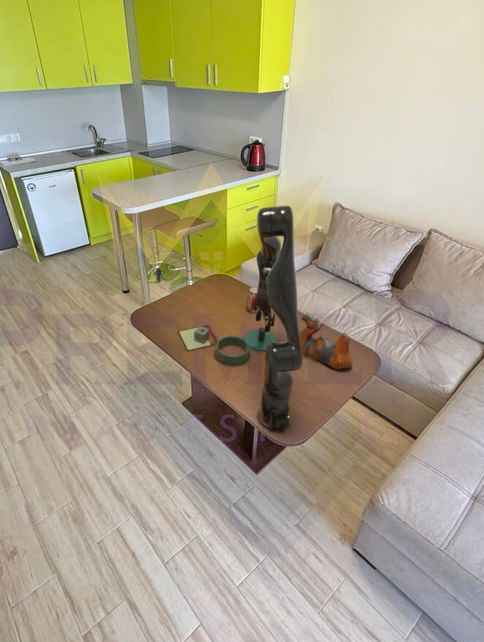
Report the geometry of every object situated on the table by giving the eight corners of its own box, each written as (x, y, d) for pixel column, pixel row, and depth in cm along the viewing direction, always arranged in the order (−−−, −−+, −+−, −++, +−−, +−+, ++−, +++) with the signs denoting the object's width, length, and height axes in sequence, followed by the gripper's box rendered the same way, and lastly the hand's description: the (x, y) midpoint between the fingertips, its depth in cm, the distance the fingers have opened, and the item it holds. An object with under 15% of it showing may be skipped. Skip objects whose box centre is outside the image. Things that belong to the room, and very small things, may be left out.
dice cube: (203, 344, 164) (203, 335, 161) (194, 340, 166) (194, 331, 163) (209, 338, 167) (209, 329, 164) (199, 334, 169) (199, 325, 167)
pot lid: (283, 347, 163) (285, 335, 159) (253, 355, 158) (254, 343, 155) (267, 328, 174) (269, 317, 171) (239, 335, 170) (240, 323, 166)
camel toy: (355, 366, 153) (365, 333, 144) (335, 379, 146) (345, 346, 137) (309, 336, 170) (315, 304, 161) (289, 346, 163) (294, 314, 154)
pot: (253, 361, 155) (254, 352, 152) (223, 369, 151) (223, 360, 148) (240, 341, 166) (240, 333, 163) (211, 348, 162) (211, 339, 159)
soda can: (259, 314, 184) (261, 294, 178) (245, 312, 185) (247, 292, 179) (261, 307, 190) (263, 287, 183) (247, 305, 191) (249, 285, 184)
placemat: (218, 343, 165) (218, 343, 164) (188, 350, 160) (188, 349, 160) (207, 326, 176) (207, 325, 175) (179, 332, 171) (179, 331, 171)
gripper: (250, 288, 157) (247, 318, 166) (266, 305, 146) (262, 337, 155) (265, 285, 160) (262, 315, 168) (282, 301, 148) (278, 333, 157)
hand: (262, 325), depth 162 cm, fingers open, 8 cm apart
